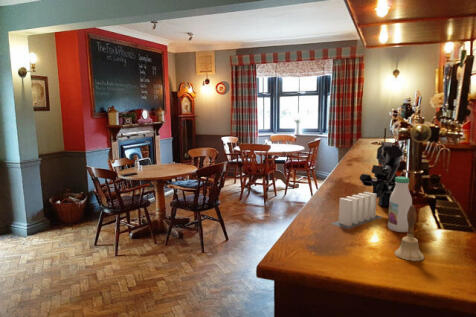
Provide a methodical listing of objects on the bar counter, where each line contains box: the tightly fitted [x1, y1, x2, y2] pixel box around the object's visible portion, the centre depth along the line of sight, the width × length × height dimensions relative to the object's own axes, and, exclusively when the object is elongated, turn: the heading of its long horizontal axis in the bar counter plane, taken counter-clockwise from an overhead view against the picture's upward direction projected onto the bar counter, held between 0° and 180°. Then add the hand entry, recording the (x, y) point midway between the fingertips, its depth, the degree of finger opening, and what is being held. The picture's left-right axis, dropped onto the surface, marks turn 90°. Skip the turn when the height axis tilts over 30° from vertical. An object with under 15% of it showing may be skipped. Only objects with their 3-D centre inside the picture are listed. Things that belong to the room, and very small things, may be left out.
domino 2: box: [345, 195, 359, 224], centre depth 139 cm, size 2×5×10 cm, turn 37°
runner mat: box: [330, 214, 383, 230], centre depth 142 cm, size 24×8×1 cm, turn 127°
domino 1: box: [338, 197, 353, 226], centre depth 137 cm, size 2×5×10 cm, turn 37°
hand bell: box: [394, 204, 425, 262], centre depth 108 cm, size 8×8×16 cm
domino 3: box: [351, 194, 365, 222], centre depth 142 cm, size 2×5×10 cm, turn 37°
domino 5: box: [363, 191, 378, 218], centre depth 146 cm, size 2×5×10 cm, turn 37°
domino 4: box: [357, 192, 371, 220], centre depth 144 cm, size 2×5×10 cm, turn 37°
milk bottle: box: [387, 176, 413, 233], centre depth 131 cm, size 8×8×20 cm
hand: (373, 198), depth 147 cm, fingers closed
